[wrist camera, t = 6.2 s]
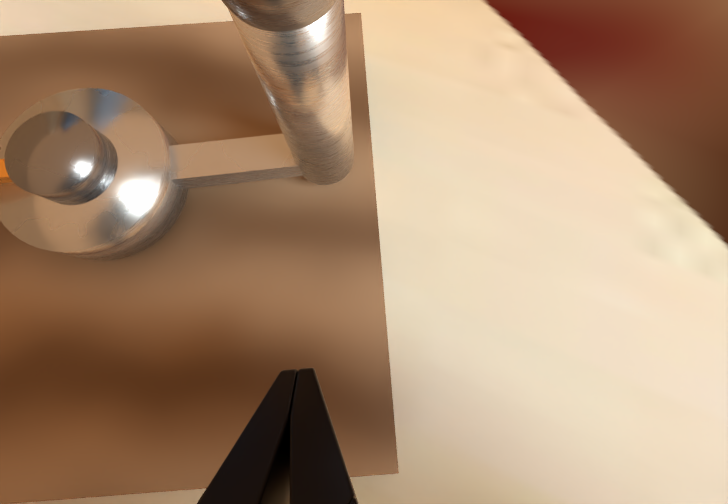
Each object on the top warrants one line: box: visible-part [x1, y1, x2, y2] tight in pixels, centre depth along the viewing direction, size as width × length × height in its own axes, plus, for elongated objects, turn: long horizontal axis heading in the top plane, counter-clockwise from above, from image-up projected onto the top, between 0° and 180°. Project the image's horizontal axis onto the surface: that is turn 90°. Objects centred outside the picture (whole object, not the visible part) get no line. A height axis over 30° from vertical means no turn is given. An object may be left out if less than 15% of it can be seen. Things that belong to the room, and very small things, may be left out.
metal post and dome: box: [0, 0, 354, 261], centre depth 11 cm, size 6×18×10 cm, turn 97°
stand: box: [0, 13, 398, 504], centre depth 16 cm, size 20×20×2 cm
